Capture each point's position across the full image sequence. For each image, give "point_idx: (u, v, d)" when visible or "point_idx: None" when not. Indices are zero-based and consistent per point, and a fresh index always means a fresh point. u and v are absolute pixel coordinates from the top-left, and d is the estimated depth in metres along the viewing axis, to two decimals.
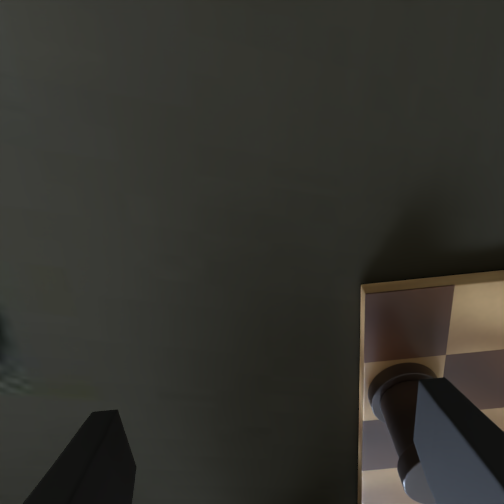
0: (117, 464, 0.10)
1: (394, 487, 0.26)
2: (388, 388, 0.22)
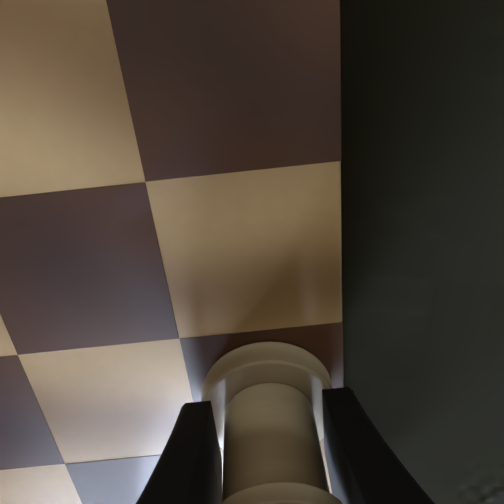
0: (214, 455, 0.10)
1: None
2: None
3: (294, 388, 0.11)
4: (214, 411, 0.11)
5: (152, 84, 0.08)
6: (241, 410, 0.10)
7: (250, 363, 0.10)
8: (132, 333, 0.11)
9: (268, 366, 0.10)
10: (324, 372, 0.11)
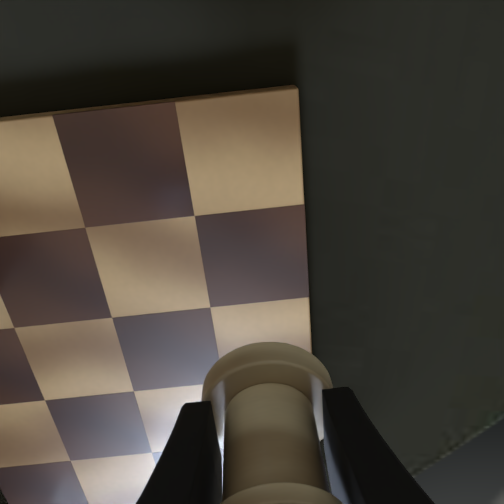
0: (214, 455, 0.10)
1: (13, 432, 0.21)
2: None
3: (294, 388, 0.11)
4: (214, 411, 0.11)
5: (216, 266, 0.17)
6: (241, 410, 0.10)
7: (250, 363, 0.10)
8: (197, 379, 0.20)
9: (268, 366, 0.10)
10: (324, 372, 0.11)
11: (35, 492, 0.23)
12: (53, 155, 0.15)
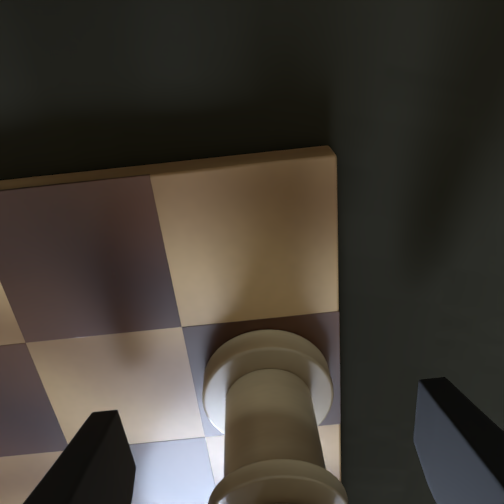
0: (117, 464, 0.10)
1: None
2: None
3: (293, 374, 0.11)
4: (215, 396, 0.11)
5: None
6: (241, 394, 0.11)
7: (249, 349, 0.11)
8: None
9: (267, 352, 0.11)
10: (322, 359, 0.12)
11: None
12: None
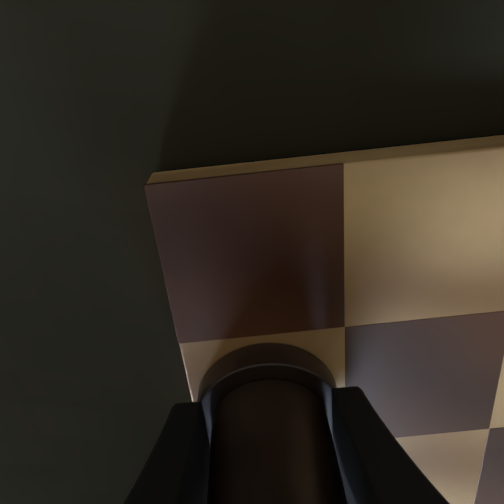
0: (203, 456, 0.10)
1: None
2: (224, 396, 0.11)
3: None
4: None
5: None
6: None
7: None
8: None
9: None
10: None
11: None
12: None
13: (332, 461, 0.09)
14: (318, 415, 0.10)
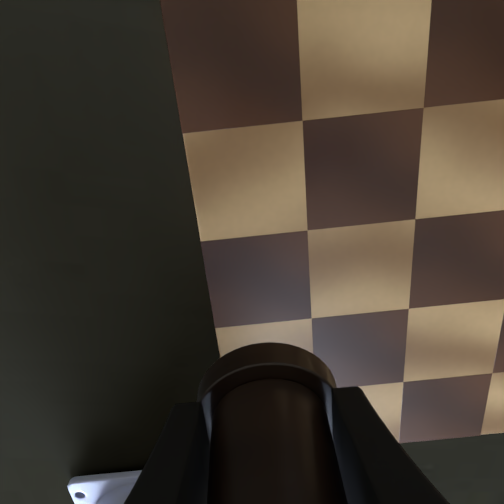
0: (204, 456, 0.10)
1: None
2: (224, 395, 0.11)
3: None
4: None
5: None
6: None
7: None
8: (480, 296, 0.18)
9: None
10: None
11: None
12: (419, 16, 0.14)
13: (332, 461, 0.09)
14: (318, 415, 0.10)
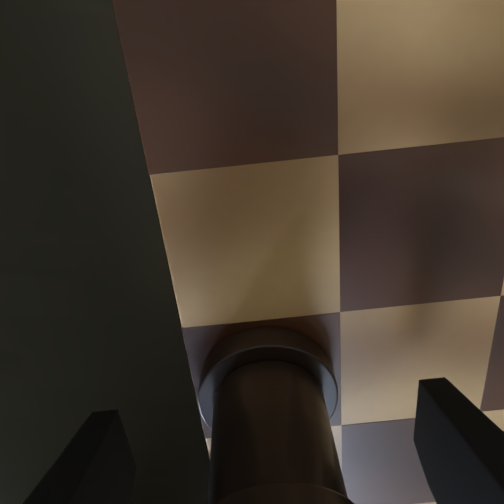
0: (117, 464, 0.10)
1: None
2: (225, 377, 0.11)
3: None
4: None
5: None
6: None
7: None
8: None
9: None
10: None
11: None
12: None
13: (328, 435, 0.10)
14: (315, 394, 0.10)
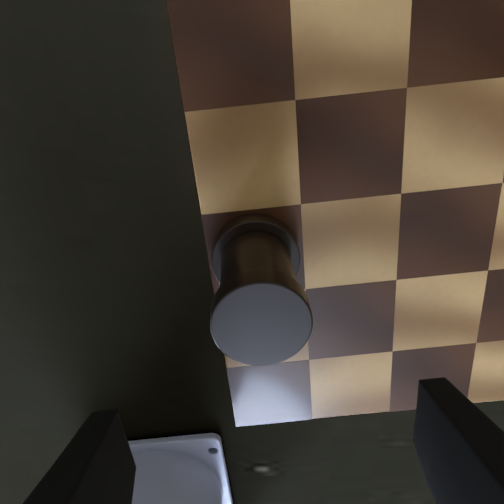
0: (117, 464, 0.10)
1: None
2: (229, 243, 0.18)
3: None
4: None
5: None
6: None
7: None
8: (463, 267, 0.20)
9: None
10: None
11: (264, 395, 0.23)
12: (401, 2, 0.15)
13: (289, 265, 0.16)
14: (283, 248, 0.17)
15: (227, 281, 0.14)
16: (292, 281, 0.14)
